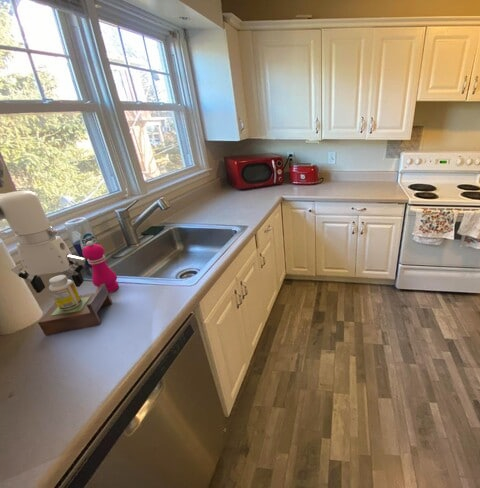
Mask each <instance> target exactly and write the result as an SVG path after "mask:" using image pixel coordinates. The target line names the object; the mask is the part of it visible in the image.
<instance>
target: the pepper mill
mask: <svg viewBox="0 0 480 488" xmlns="http://www.w3.org/2000/svg"><path fill="white" fill-rule="evenodd" d="M81 253H82V256H83V258H85V259H86V261H87V262H88V264H89V265H90V266H91V268H92V277H91V281H92V284H93V285H94V286H95V287H97V288H96V290H98V288H99V287H100V285H101V284H105V286H106V288H107V291H108V293H109V294H110V293H113V292H115V291H117V289H119V287H120V285H119V282H118V281H117V280H118V276H117V273H116V272H115V271H114V270H113V269H111V268H110V267H109V266H108V264H107V262H106V256H105V255H104V254H105V248H104V247H103V246H102V245H101V244H97V243H94V242H93V241H92V240H89V241H87V242H86V246H85V247H84V248H83V249H82V252H81Z"/></svg>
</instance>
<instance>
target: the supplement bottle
mask: <svg viewBox="0 0 480 488" xmlns="http://www.w3.org/2000/svg"><path fill="white" fill-rule="evenodd" d="M48 282H49V286H48V291H49V292H50V294H51V296H52V298H53V299H54V302H56V303H57V305H58V307H59V309H61V310H70V309H73V308H75V307H77V306H78V305H80V304H81V302H82V300H81V298H80V294H79V292H78V289H77V287H76V285H75V283H74V281H73V280H72V279H69V278H68V277H67V275H66V274H59V275H56V276H53V277H51V278H50V279H49V280H48Z"/></svg>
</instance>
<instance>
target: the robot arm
mask: <svg viewBox="0 0 480 488" xmlns="http://www.w3.org/2000/svg"><path fill="white" fill-rule="evenodd" d="M2 220H6V222H7V224H8V226H9V227H10V229H11V231H12V233H13V235H14V237H15V239H16V241H17V244H16V248H17V254H18V256H19V259H20V263H18V264H17V265H15V266H14V267H12V268H11V269H10V271H12V273H14V274H15V275H17V276H18V277H19V278H20V279H23V280H25V282H27V283H30V284H31V287H32V288H33V290H35V292H36V294H40V293H41V292H43V290H45V288H46V285H45V284H44V283H45V282H44V281H43V280H42V278H41V276H40V275H48V274H57V273H63V272H67V273H69V274H70V275H71V280H72V282H73V284H74V286H75V288H80V287H81V286H82V284H83V283H84V277H83V275H82V273H81V271H82V270H83V269H84V268H85V266H86V261H87V258H85V257H82V256H77V255H73V254H72V252H71V250H70V248H69V247H68V245H67V243H66V242H65V241H64V240H63V239H62V237H61V236H59V235H60V230H59V229H54V227H53V226H52V225H51V223H50V221H49V218H48V216H47V214H46V212H45V209H44V207H43V205H42V203H41V201H40V198H39V196H38V195H37V193H35V192H34V191H31V190H17V191H9V192H6V193H5V192H4V193H0V221H2ZM76 263H78V264H77V265H76ZM23 268H24V269H23Z"/></svg>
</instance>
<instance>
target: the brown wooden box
mask: <svg viewBox="0 0 480 488" xmlns="http://www.w3.org/2000/svg"><path fill="white" fill-rule="evenodd" d="M97 288H98V287H97ZM79 296H80V298H81V300H82V302H81V304H80V305H78V306H77V307H75V308H73V309H70V310H61V309H59V307H58V305H57V303H56V301H54V303H53V304H52V306H51V307H49V309H48V310H47V311H46V312H45V314H44V315H43V316H42V317H41V318H40V319H39V321H38V322H37V324H38V325H39V327H40V329H41V331H42V332H43V334H44V336H50V335H55V334H61V333H66V332H70V331H76V330H80V329H86V328H90V327H96V326H100V325H101V324H102V321H101V319H100V316H99V314H98V312H99V310H100V309H101V307H105V306H110V305H112V304H113V301H112V298H111V296H110V293H108V291H107V288H106V286H105V284H101V285H100V287H99V288H98V289H96V291H95V292H92V293H86V294H79Z"/></svg>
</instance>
